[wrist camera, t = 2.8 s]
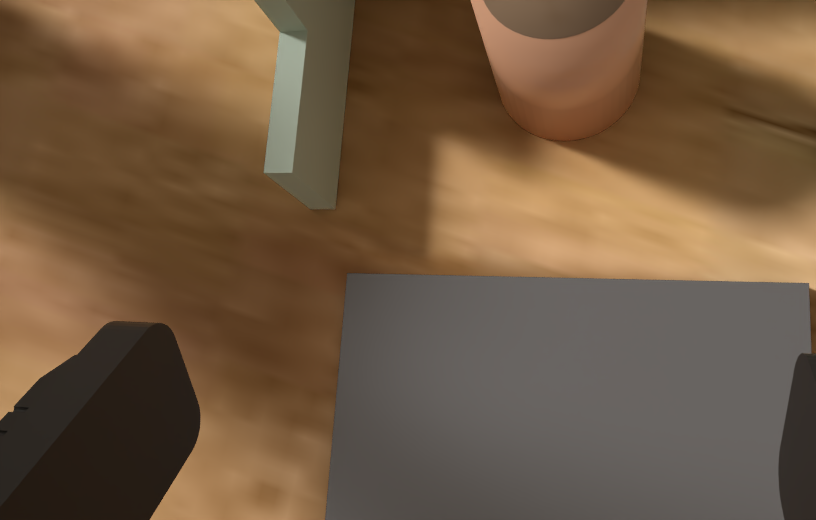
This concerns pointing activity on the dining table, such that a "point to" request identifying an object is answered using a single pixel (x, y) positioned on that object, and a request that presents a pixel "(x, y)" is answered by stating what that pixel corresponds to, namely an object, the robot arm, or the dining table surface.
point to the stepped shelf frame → (309, 97)
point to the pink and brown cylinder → (564, 61)
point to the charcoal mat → (562, 398)
